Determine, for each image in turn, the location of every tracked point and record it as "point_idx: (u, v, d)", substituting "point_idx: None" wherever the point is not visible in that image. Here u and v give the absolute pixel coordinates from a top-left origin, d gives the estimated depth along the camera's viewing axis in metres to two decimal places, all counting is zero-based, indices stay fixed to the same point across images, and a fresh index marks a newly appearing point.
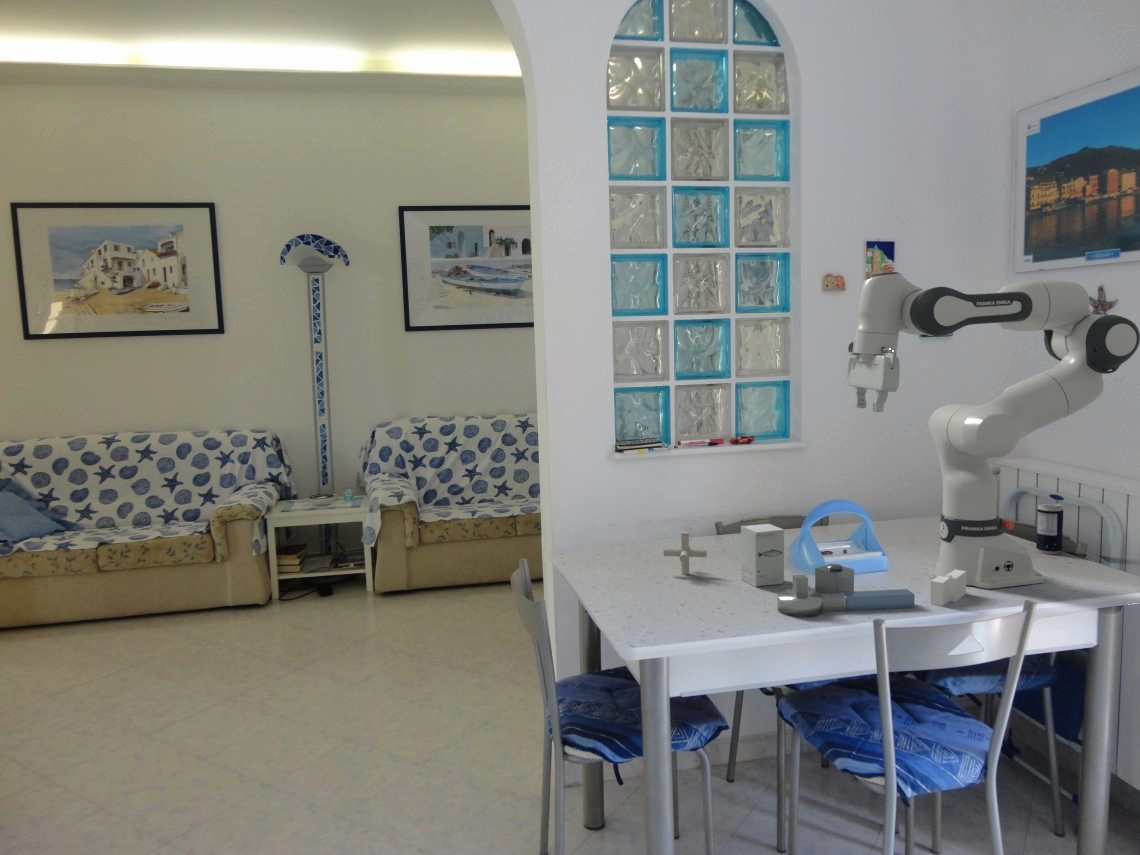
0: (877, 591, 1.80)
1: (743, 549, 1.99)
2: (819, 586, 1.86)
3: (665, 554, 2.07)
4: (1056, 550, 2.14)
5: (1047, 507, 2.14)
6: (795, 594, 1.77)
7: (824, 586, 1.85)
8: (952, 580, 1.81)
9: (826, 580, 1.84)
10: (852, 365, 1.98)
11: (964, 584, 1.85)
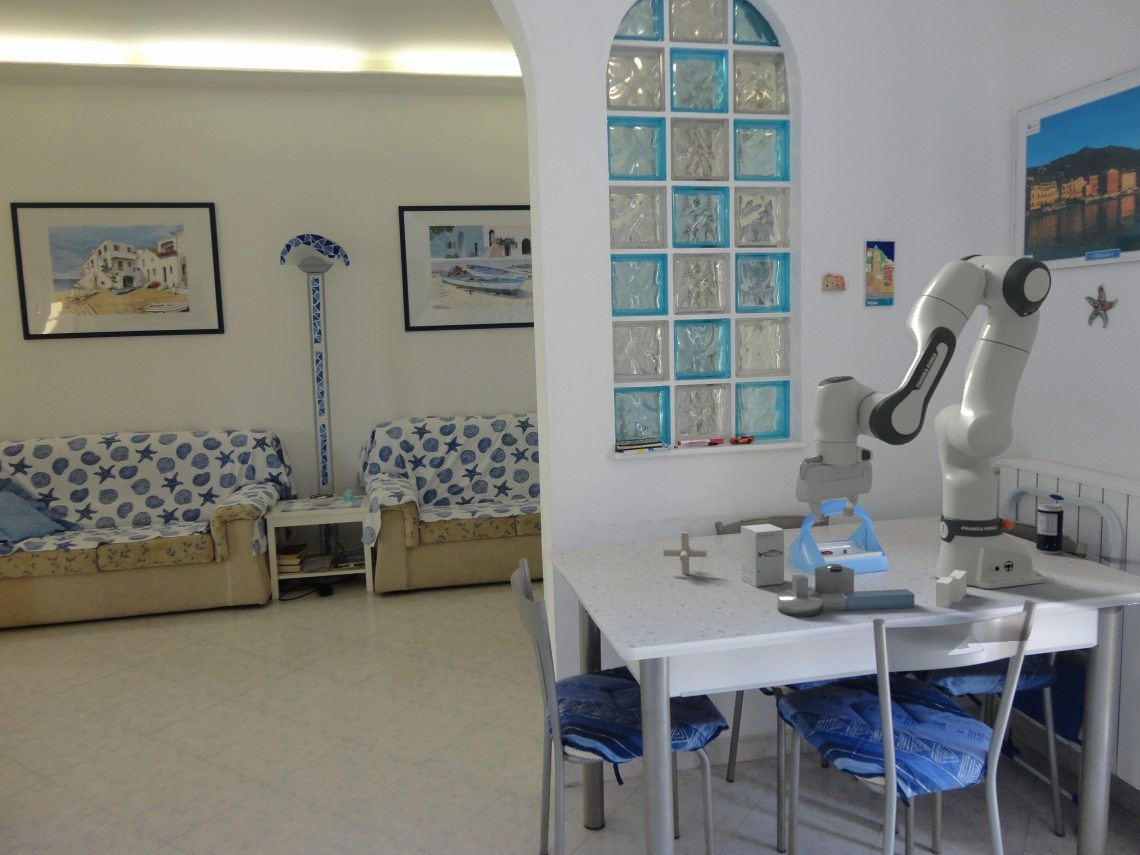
0: (877, 591, 1.80)
1: (743, 549, 1.99)
2: (819, 586, 1.86)
3: (665, 554, 2.07)
4: (1056, 550, 2.14)
5: (1047, 507, 2.14)
6: (795, 594, 1.77)
7: (824, 586, 1.85)
8: (956, 581, 1.80)
9: (826, 580, 1.84)
10: None
11: (965, 584, 1.85)
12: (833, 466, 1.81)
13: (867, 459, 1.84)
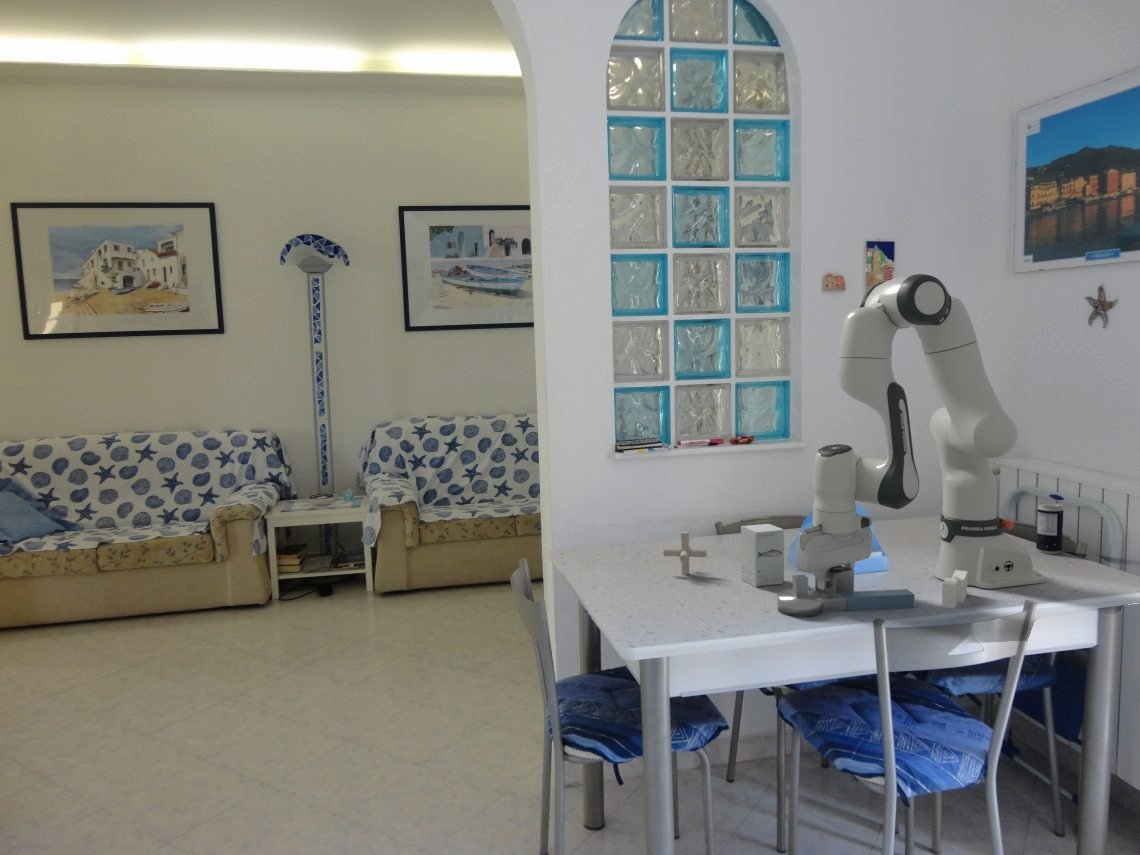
0: (877, 591, 1.80)
1: (743, 549, 1.99)
2: None
3: (665, 554, 2.07)
4: (1056, 550, 2.14)
5: (1047, 507, 2.14)
6: (795, 594, 1.77)
7: None
8: (960, 581, 1.80)
9: None
10: None
11: (966, 584, 1.85)
12: (833, 535, 1.82)
13: (866, 526, 1.86)
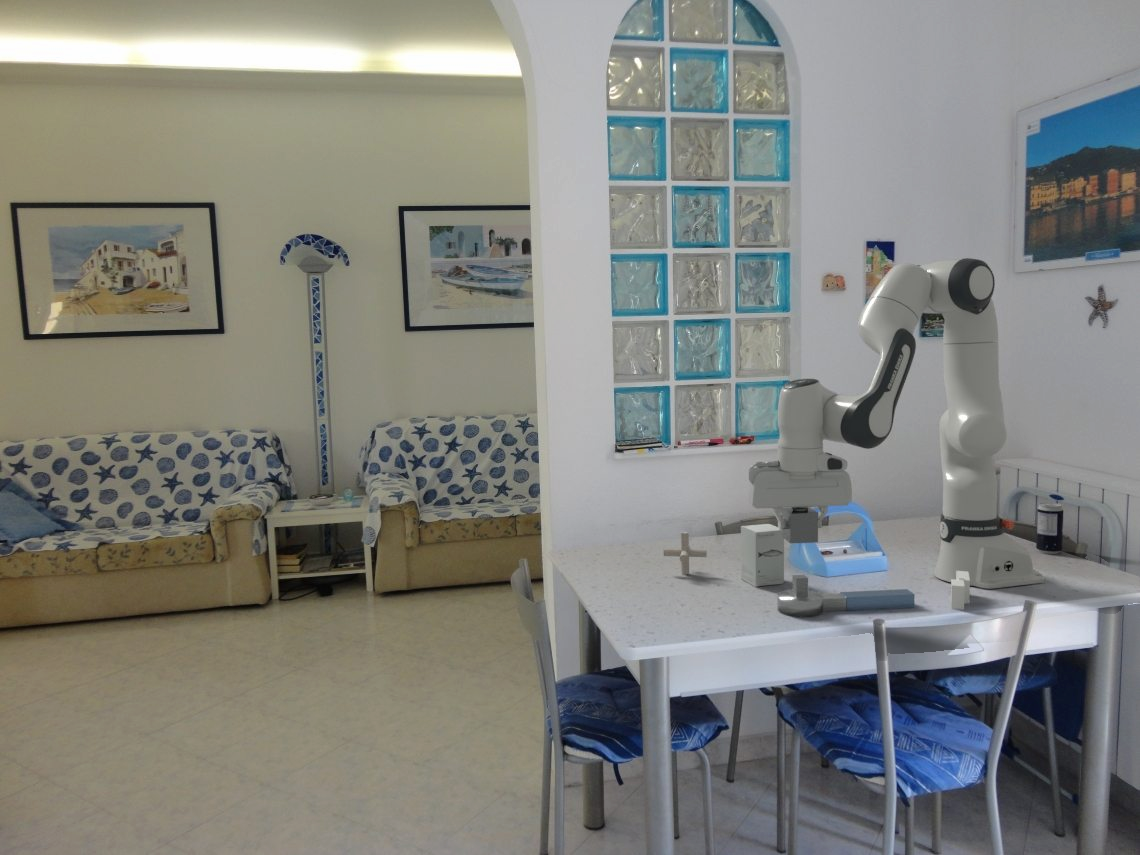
0: (877, 591, 1.80)
1: (743, 549, 1.99)
2: None
3: (665, 554, 2.07)
4: (1056, 550, 2.14)
5: (1047, 507, 2.14)
6: (795, 594, 1.77)
7: None
8: (966, 582, 1.79)
9: None
10: None
11: None
12: (790, 473, 1.73)
13: (837, 468, 1.72)
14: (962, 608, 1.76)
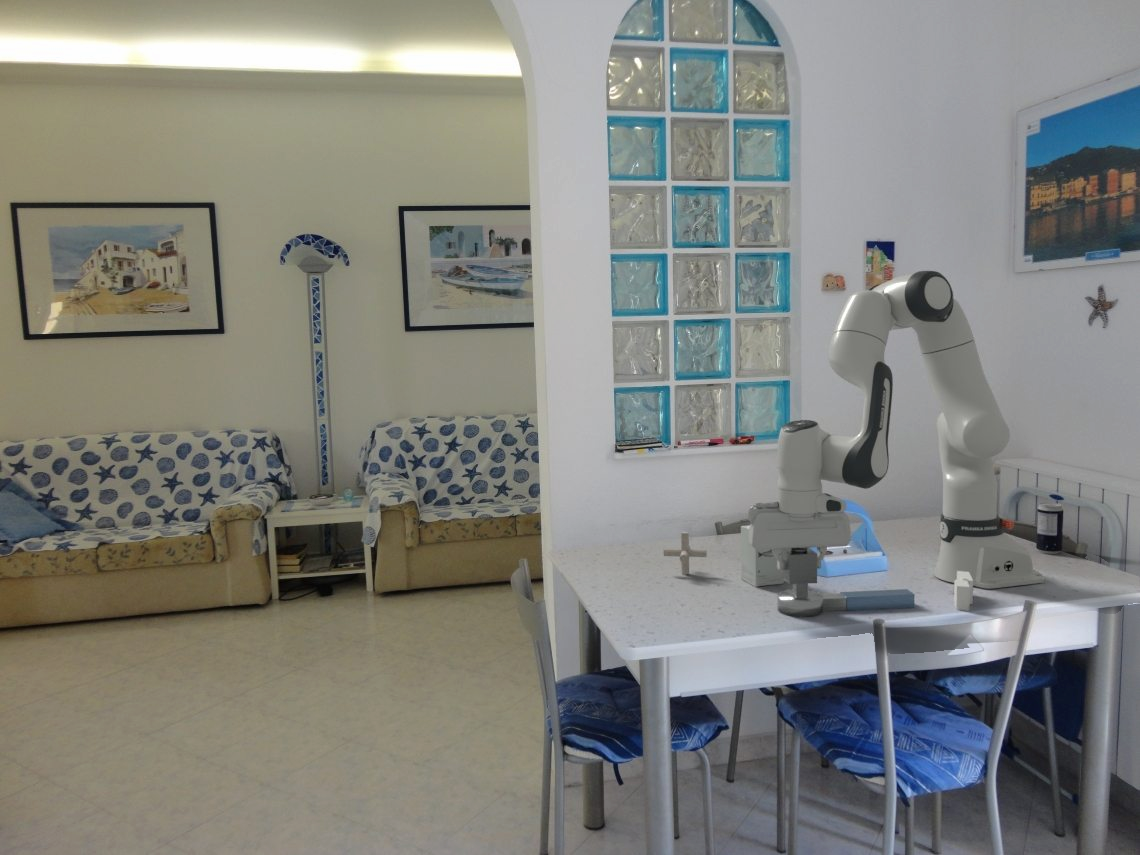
0: (877, 591, 1.80)
1: (743, 549, 1.99)
2: None
3: (665, 554, 2.07)
4: (1056, 550, 2.14)
5: (1047, 507, 2.14)
6: (795, 594, 1.77)
7: None
8: (969, 582, 1.79)
9: None
10: None
11: None
12: (789, 514, 1.74)
13: (836, 510, 1.73)
14: (967, 609, 1.75)
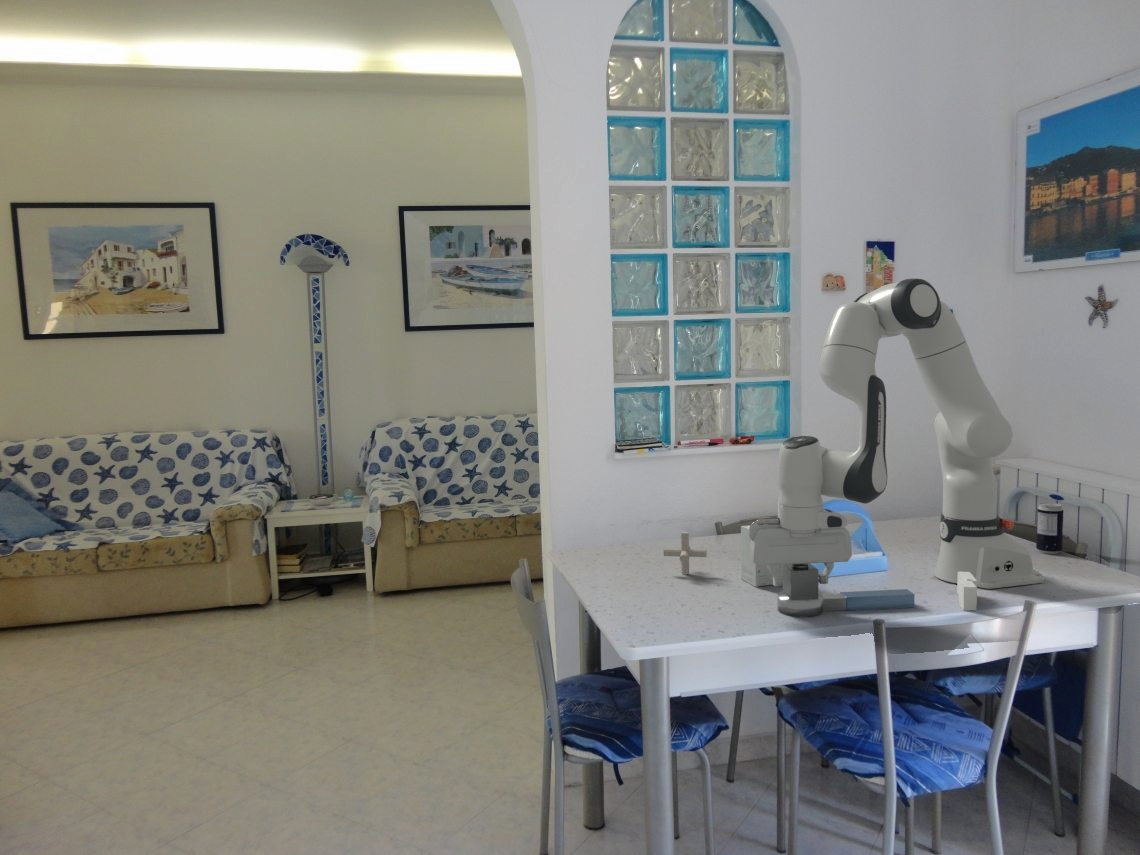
0: (877, 591, 1.80)
1: (743, 549, 1.99)
2: (784, 583, 1.79)
3: (665, 554, 2.07)
4: (1056, 550, 2.14)
5: (1047, 507, 2.14)
6: None
7: (786, 583, 1.78)
8: (974, 583, 1.78)
9: (787, 577, 1.77)
10: None
11: None
12: (790, 530, 1.74)
13: (837, 526, 1.73)
14: (974, 609, 1.75)
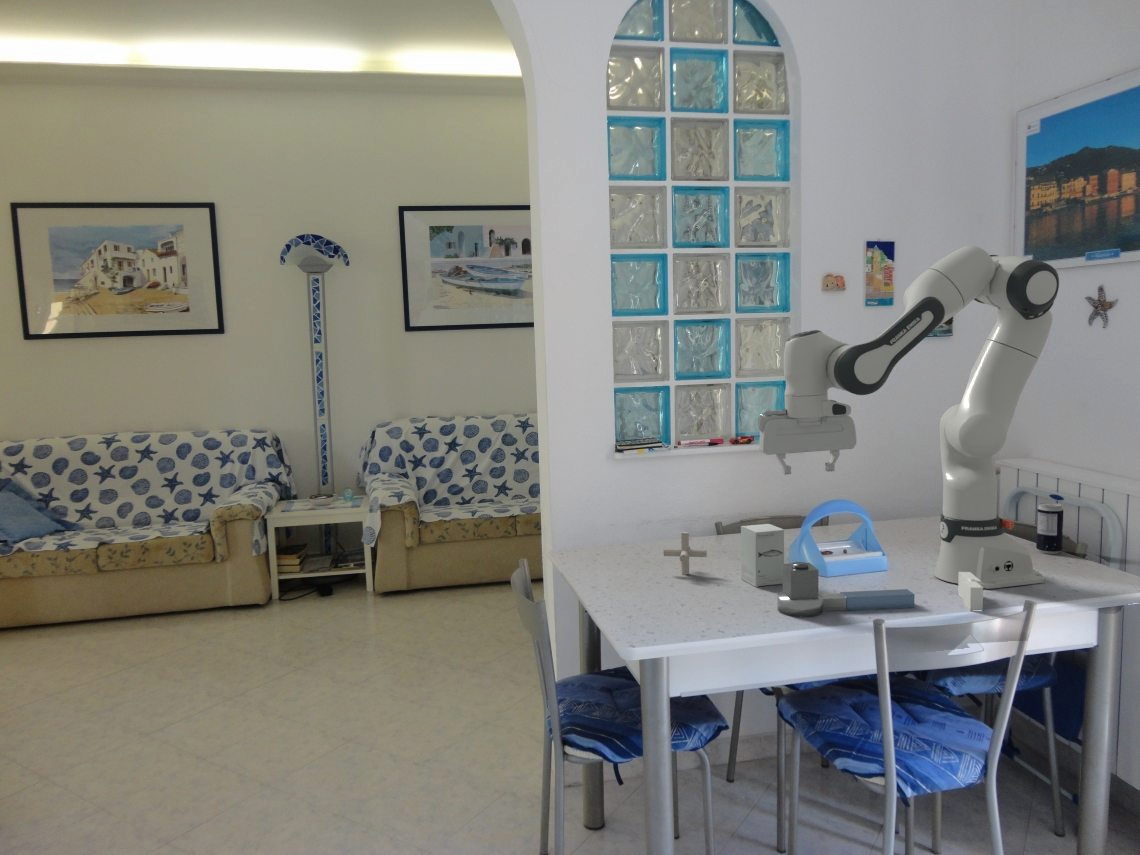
0: (877, 591, 1.80)
1: (743, 549, 1.99)
2: (784, 583, 1.79)
3: (665, 554, 2.07)
4: (1056, 550, 2.14)
5: (1047, 507, 2.14)
6: None
7: (786, 583, 1.78)
8: (978, 583, 1.78)
9: (787, 577, 1.77)
10: None
11: None
12: (797, 420, 1.83)
13: (841, 414, 1.82)
14: None
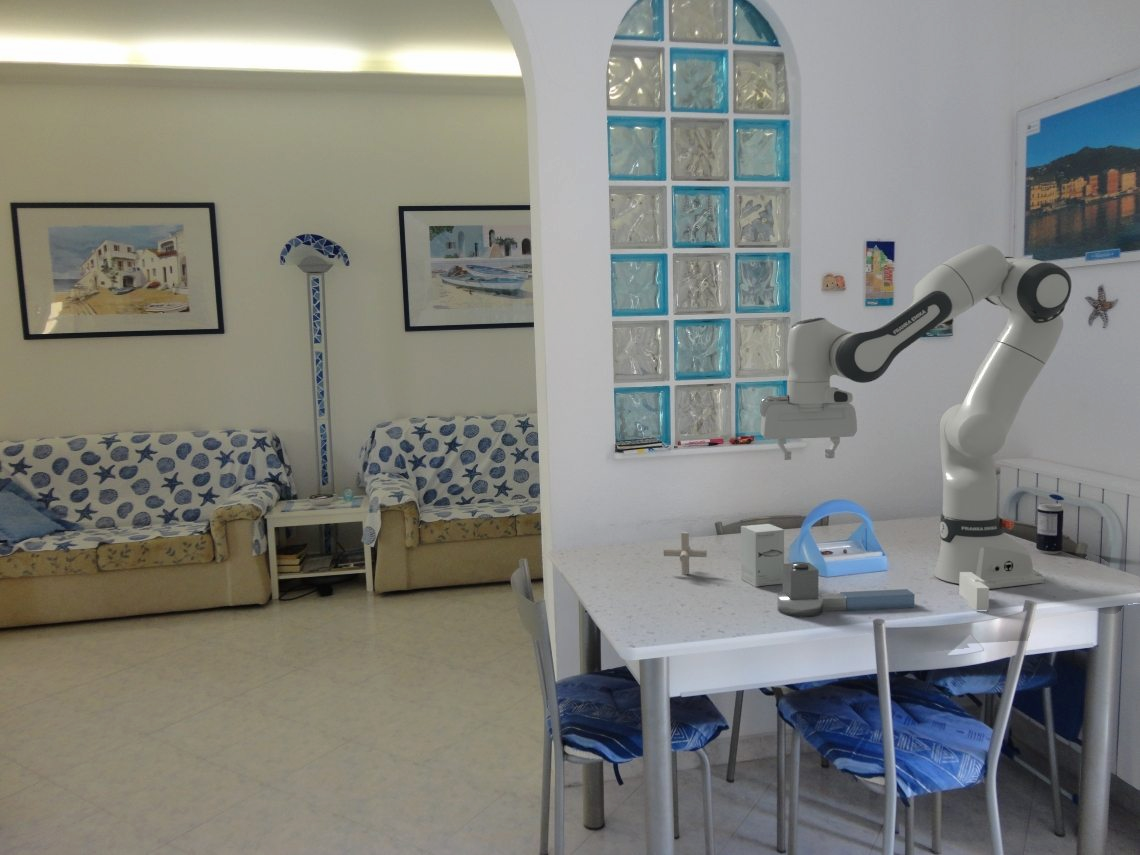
0: (877, 591, 1.80)
1: (743, 549, 1.99)
2: (784, 583, 1.79)
3: (665, 554, 2.07)
4: (1056, 550, 2.14)
5: (1047, 507, 2.14)
6: None
7: (786, 583, 1.78)
8: (981, 583, 1.78)
9: (787, 577, 1.77)
10: None
11: None
12: (799, 405, 1.85)
13: (843, 401, 1.84)
14: None
